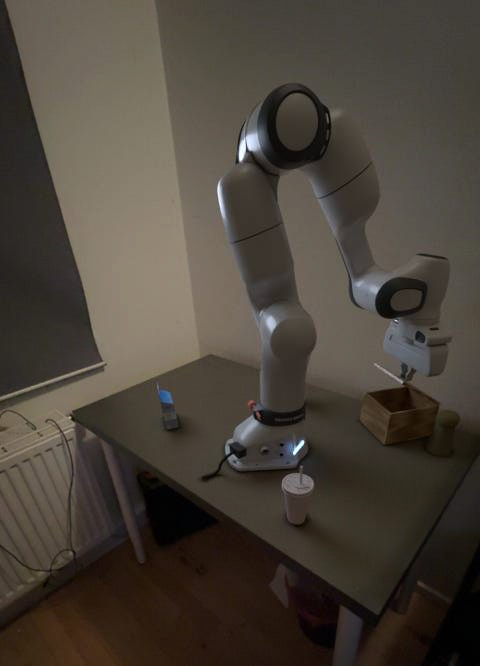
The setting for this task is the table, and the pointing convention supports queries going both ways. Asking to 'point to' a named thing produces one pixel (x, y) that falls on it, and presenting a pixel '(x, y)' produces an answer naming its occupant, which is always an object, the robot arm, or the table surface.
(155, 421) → the table surface
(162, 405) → the cordless phone
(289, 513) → the smoothie
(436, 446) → the olive tapered rounded piece
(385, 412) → the bin
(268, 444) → the robot arm
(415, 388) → the bin lid
